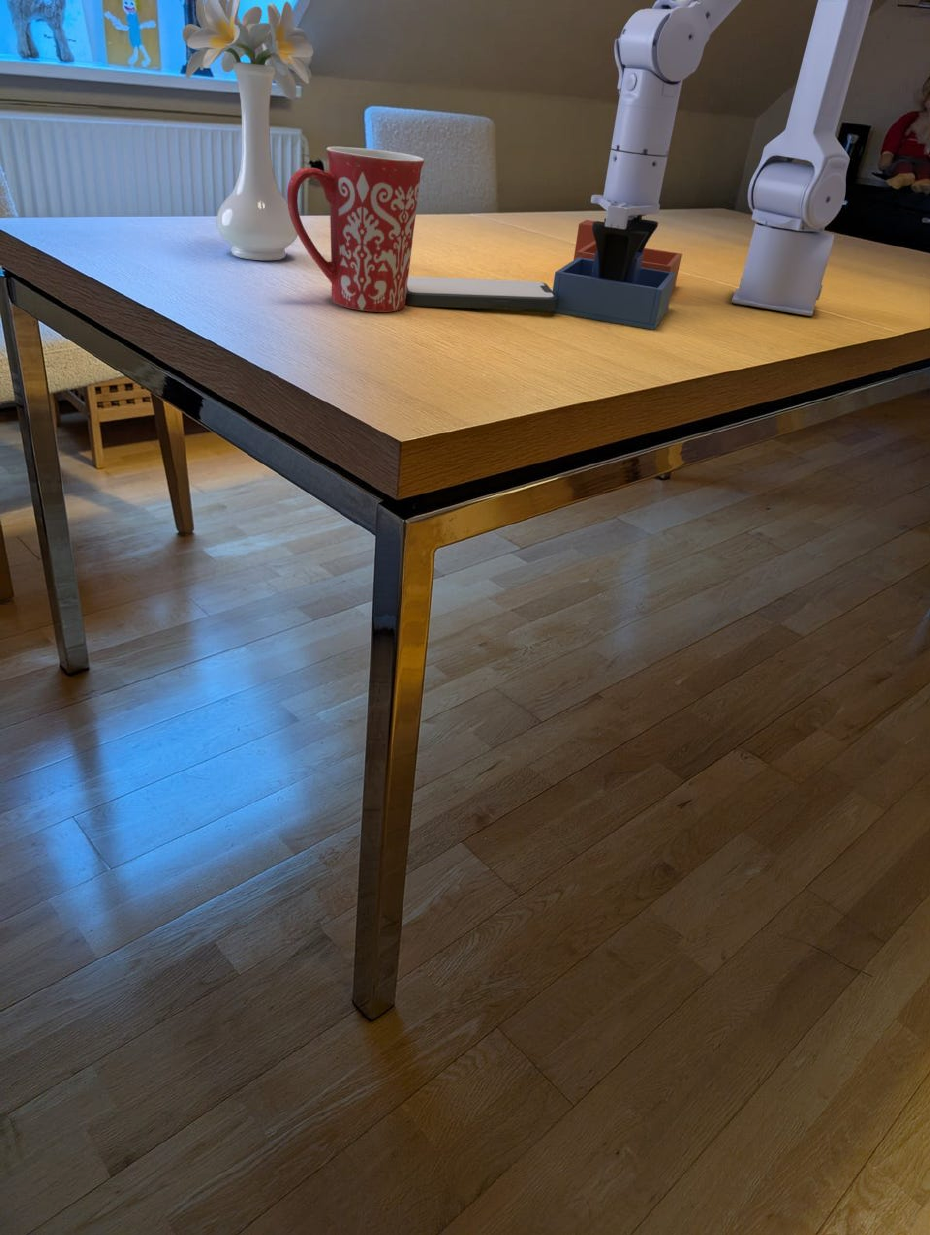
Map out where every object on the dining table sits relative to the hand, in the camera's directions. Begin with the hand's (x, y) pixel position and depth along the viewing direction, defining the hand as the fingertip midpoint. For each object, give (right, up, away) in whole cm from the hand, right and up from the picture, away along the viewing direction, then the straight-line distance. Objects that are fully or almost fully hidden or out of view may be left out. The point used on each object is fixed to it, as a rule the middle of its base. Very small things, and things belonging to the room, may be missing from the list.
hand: (613, 293), depth 96 cm
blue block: (0, -1, +1) cm, 1 cm away
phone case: (-15, -2, -2) cm, 15 cm away
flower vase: (-41, +7, +8) cm, 42 cm away
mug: (-27, -4, -8) cm, 29 cm away
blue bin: (0, -2, +1) cm, 2 cm away
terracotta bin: (+4, +6, +14) cm, 15 cm away
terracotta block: (+1, +12, +22) cm, 25 cm away
